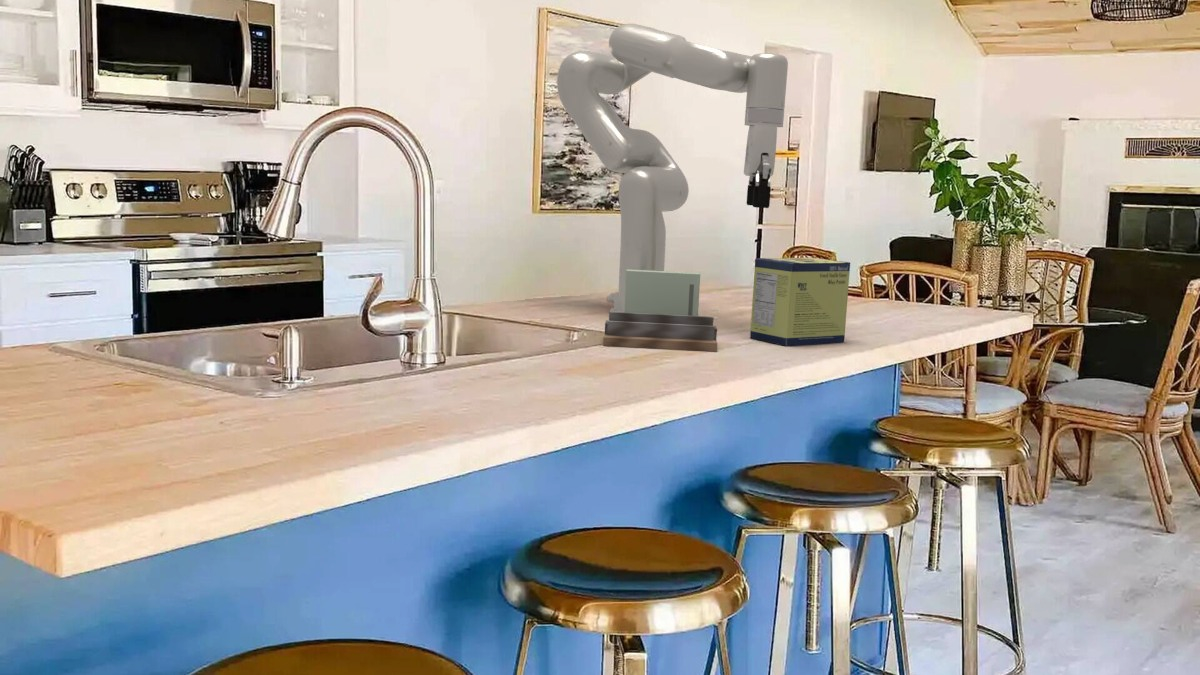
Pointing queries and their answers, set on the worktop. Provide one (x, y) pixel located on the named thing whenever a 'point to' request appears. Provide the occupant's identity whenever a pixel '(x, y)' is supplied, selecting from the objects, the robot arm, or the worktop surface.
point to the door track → (660, 331)
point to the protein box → (799, 301)
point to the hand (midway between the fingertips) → (757, 206)
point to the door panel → (662, 292)
